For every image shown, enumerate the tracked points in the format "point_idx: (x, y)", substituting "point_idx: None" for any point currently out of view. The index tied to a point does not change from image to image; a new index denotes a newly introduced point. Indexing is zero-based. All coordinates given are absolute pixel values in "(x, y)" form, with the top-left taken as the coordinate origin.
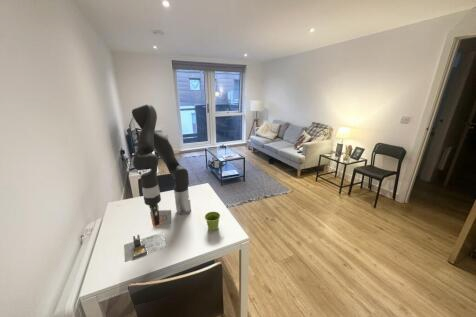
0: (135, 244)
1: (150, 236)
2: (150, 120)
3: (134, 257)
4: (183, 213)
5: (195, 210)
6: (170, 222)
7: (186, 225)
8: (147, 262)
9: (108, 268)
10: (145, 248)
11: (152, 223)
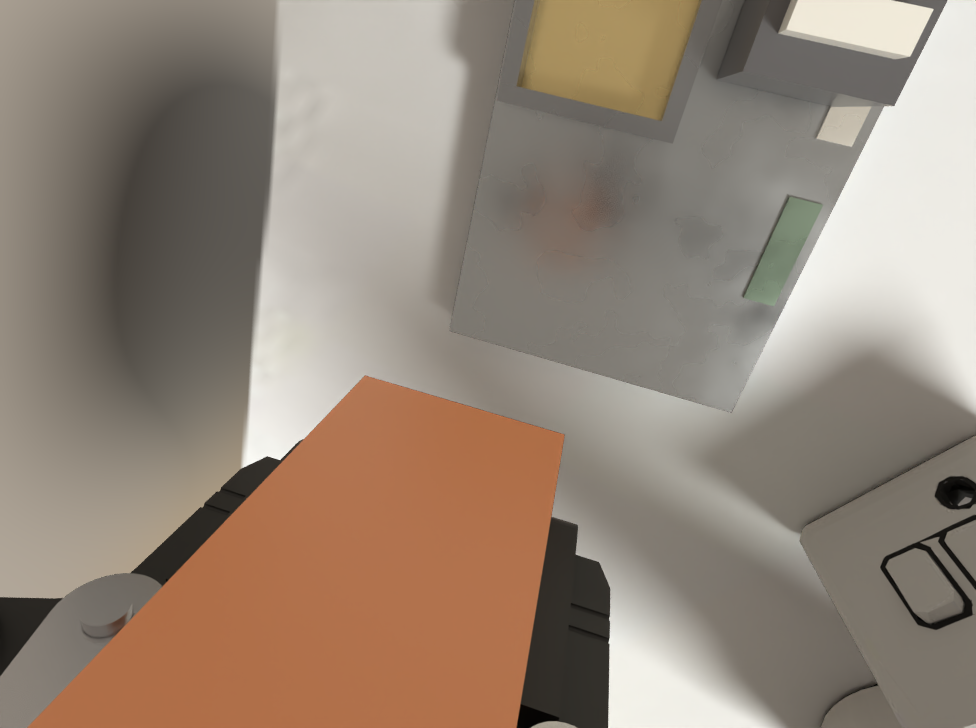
0: None
1: (793, 264)
2: None
3: None
4: (845, 709)
5: None
6: (814, 558)
7: (639, 607)
8: (410, 58)
9: None
10: (572, 105)
11: (408, 435)
